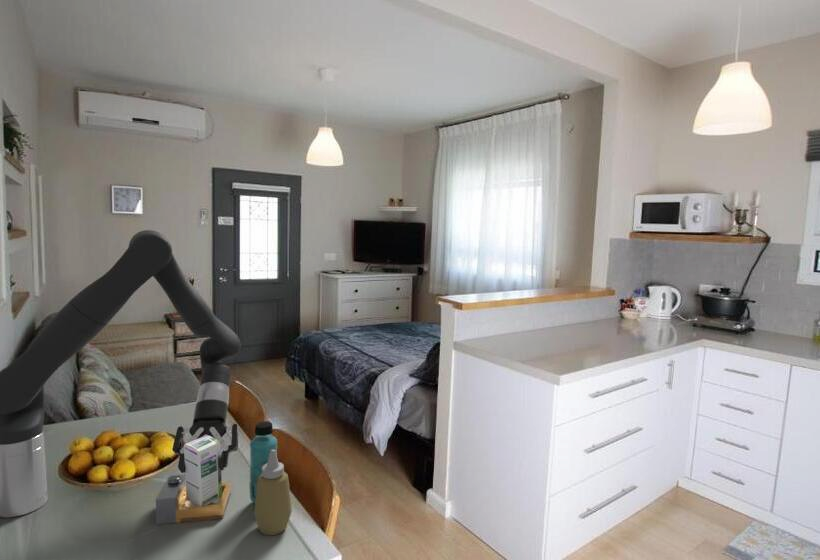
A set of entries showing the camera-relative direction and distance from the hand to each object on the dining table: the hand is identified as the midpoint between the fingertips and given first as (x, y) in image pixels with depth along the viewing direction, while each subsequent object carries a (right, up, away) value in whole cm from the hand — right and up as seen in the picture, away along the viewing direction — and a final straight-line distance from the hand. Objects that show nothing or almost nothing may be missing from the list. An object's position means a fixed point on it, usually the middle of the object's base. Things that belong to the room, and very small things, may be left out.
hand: (202, 470), depth 109 cm
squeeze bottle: (+18, -11, -4) cm, 21 cm away
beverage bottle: (+13, -10, +5) cm, 17 cm away
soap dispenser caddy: (-2, -10, +2) cm, 10 cm away
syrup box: (-1, -8, +2) cm, 8 cm away
